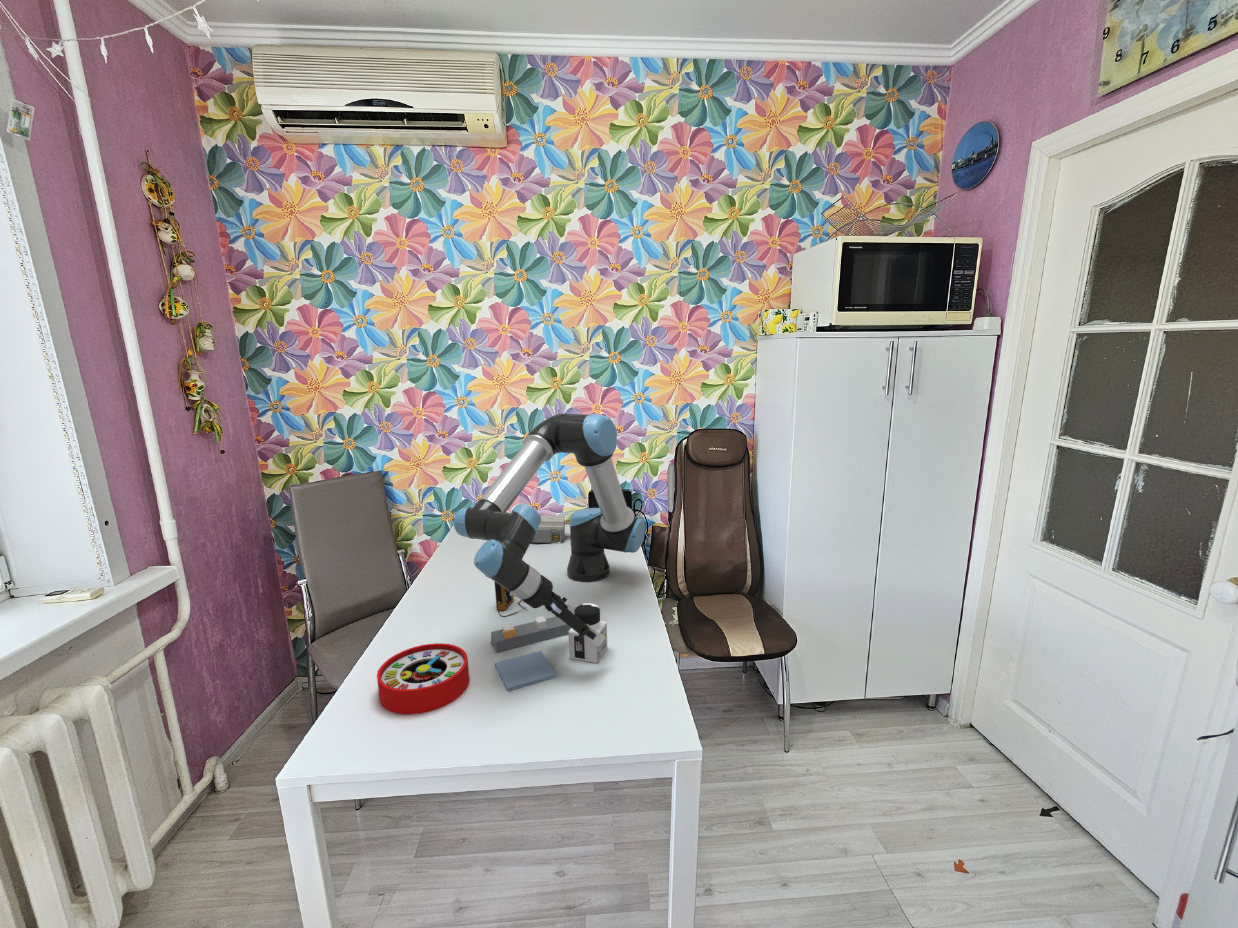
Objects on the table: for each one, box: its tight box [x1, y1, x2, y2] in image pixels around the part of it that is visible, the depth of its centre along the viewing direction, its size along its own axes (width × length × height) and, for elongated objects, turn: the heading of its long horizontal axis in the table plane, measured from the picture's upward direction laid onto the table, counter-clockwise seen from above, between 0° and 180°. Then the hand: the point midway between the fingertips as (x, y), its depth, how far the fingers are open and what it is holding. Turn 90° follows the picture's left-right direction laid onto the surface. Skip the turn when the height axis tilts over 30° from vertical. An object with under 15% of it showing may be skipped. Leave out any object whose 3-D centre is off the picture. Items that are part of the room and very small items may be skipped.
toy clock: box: [376, 642, 471, 715], centre depth 127 cm, size 20×6×20 cm
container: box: [567, 602, 608, 664], centre depth 139 cm, size 8×8×13 cm
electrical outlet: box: [531, 514, 570, 544], centre depth 228 cm, size 12×28×10 cm, turn 95°
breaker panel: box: [490, 615, 571, 653], centre depth 149 cm, size 26×6×5 cm, turn 116°
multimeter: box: [494, 581, 528, 618], centre depth 166 cm, size 15×10×20 cm
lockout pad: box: [494, 650, 558, 692], centre depth 133 cm, size 12×12×1 cm
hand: (590, 629), depth 139 cm, fingers open, 13 cm apart
